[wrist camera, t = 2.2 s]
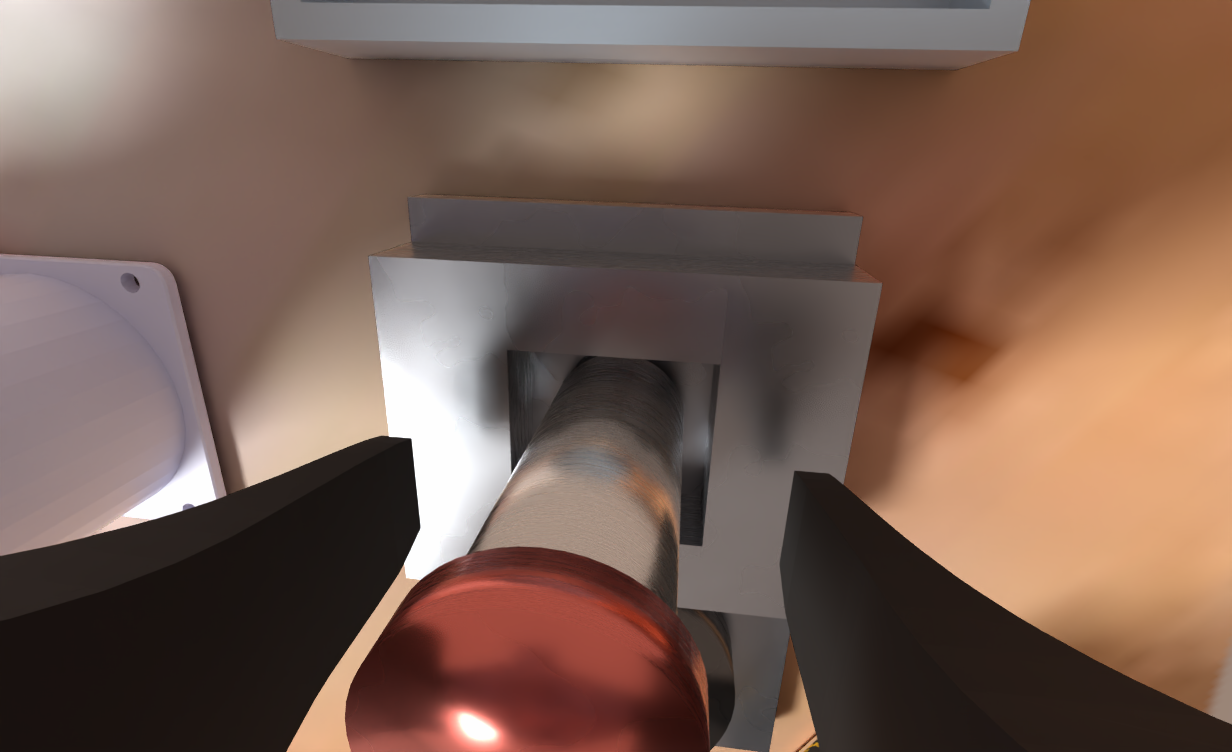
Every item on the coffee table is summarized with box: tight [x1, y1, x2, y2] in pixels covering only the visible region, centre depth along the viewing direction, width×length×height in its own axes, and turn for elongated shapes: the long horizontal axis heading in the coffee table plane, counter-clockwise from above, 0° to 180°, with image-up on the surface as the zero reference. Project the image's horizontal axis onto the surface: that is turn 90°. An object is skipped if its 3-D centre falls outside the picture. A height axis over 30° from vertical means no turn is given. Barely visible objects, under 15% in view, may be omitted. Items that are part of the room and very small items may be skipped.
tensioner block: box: [368, 194, 883, 752], centre depth 15 cm, size 10×16×3 cm, turn 178°
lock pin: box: [345, 356, 710, 752], centre depth 11 cm, size 4×4×9 cm
